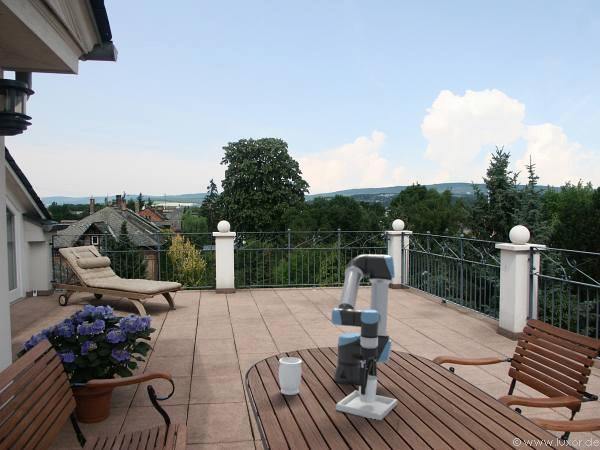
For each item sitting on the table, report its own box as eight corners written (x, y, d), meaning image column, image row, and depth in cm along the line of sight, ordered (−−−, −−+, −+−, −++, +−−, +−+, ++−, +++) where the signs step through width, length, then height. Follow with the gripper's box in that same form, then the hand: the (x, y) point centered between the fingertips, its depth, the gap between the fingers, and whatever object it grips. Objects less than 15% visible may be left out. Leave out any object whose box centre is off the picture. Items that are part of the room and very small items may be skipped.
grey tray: (355, 395, 219) (355, 390, 219) (397, 405, 209) (397, 399, 209) (336, 409, 202) (336, 403, 202) (380, 421, 192) (380, 415, 192)
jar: (303, 390, 224) (304, 358, 224) (296, 397, 214) (297, 364, 214) (282, 386, 228) (283, 355, 227) (274, 394, 218) (275, 361, 218)
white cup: (376, 404, 200) (376, 381, 200) (357, 402, 202) (358, 379, 202) (376, 397, 208) (377, 375, 208) (358, 396, 210) (359, 373, 210)
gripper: (370, 340, 216) (368, 389, 216) (351, 349, 198) (349, 404, 198) (385, 342, 212) (384, 393, 212) (367, 352, 194) (366, 408, 194)
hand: (367, 398), depth 205 cm, fingers closed on white cup, 8 cm apart
